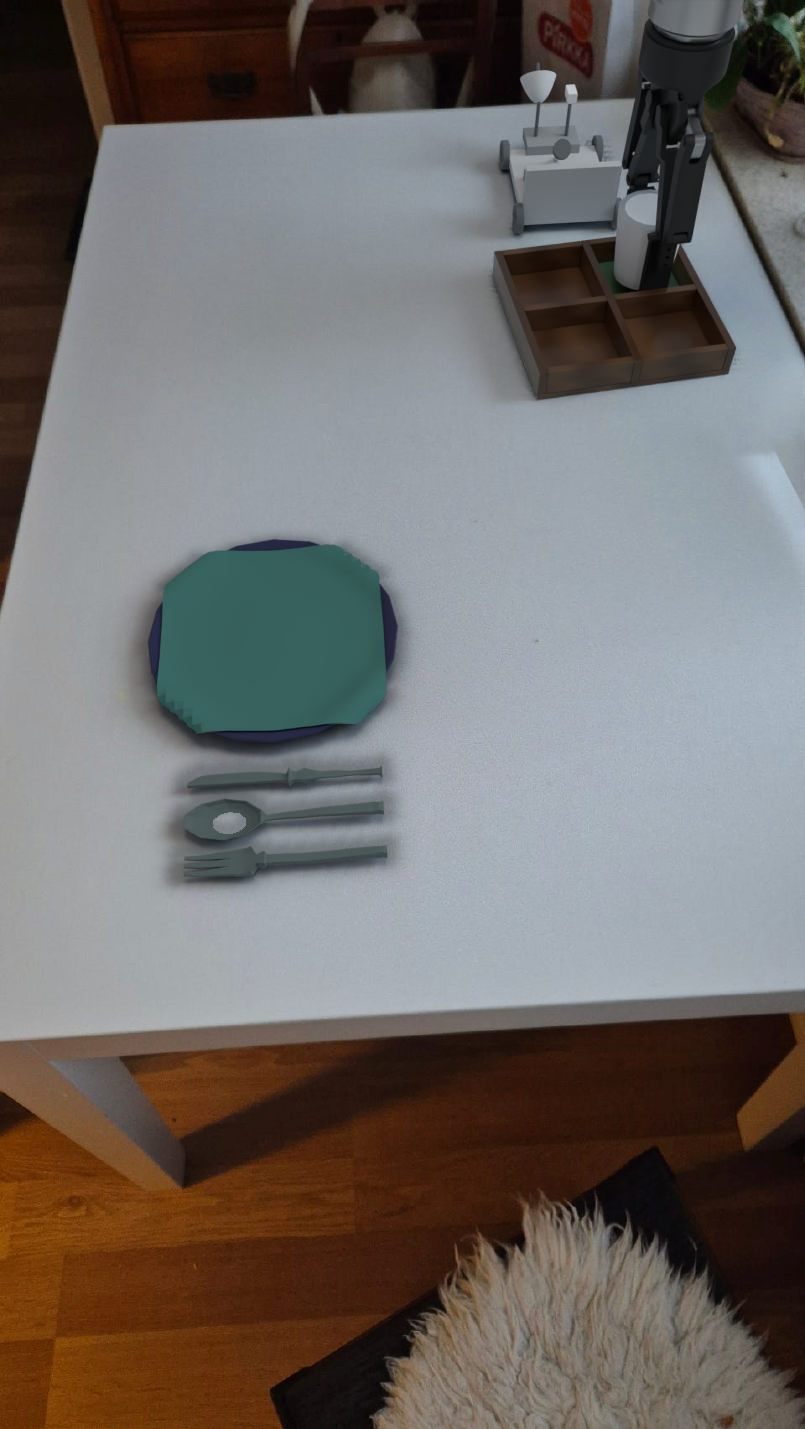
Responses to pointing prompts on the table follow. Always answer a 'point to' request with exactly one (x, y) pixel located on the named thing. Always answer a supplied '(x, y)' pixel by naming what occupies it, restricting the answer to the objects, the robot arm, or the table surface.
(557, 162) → the toy rover
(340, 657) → the cutlery set
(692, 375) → the compartment tray
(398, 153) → the table surface
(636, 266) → the white cylinder canister
